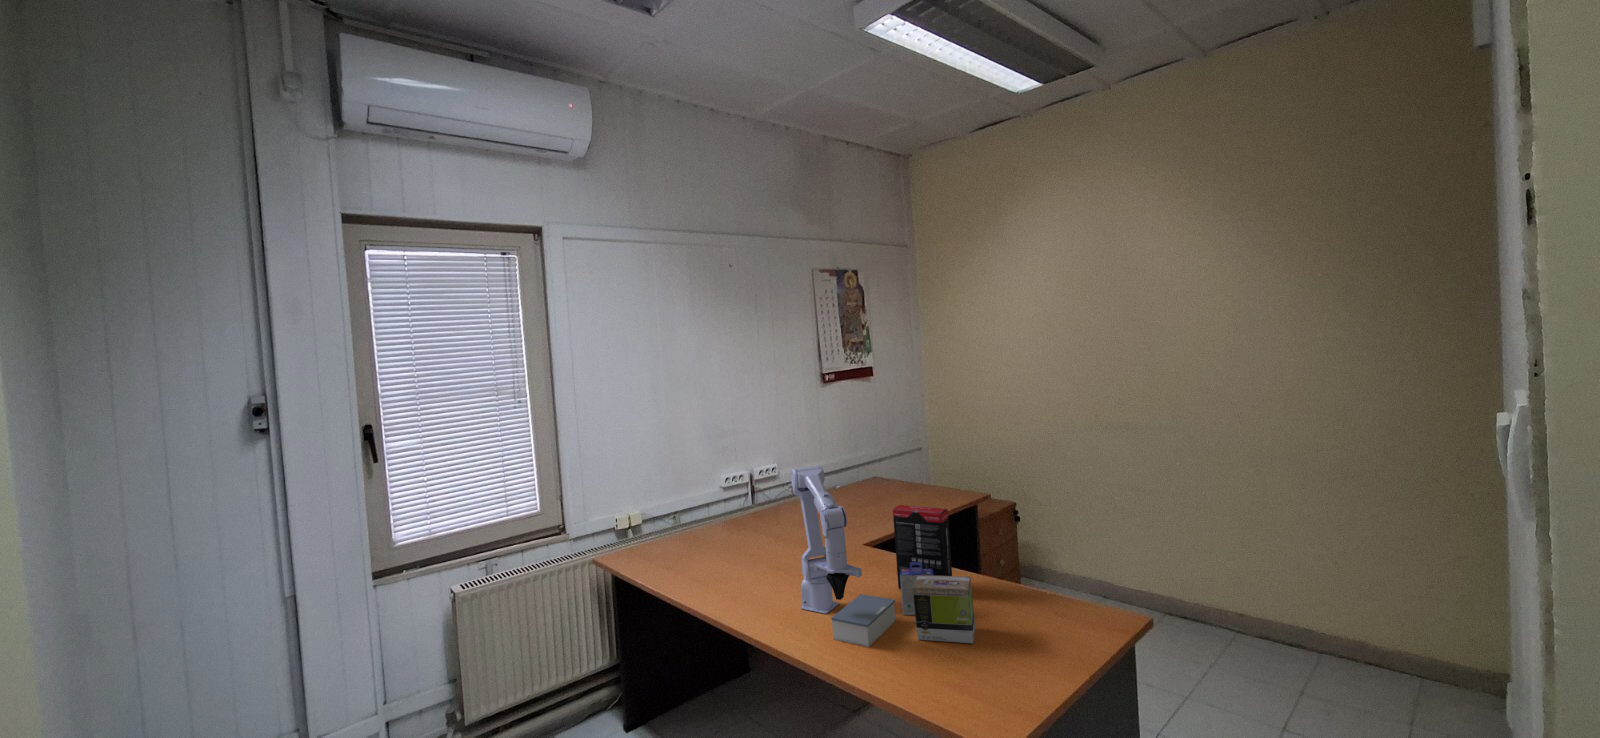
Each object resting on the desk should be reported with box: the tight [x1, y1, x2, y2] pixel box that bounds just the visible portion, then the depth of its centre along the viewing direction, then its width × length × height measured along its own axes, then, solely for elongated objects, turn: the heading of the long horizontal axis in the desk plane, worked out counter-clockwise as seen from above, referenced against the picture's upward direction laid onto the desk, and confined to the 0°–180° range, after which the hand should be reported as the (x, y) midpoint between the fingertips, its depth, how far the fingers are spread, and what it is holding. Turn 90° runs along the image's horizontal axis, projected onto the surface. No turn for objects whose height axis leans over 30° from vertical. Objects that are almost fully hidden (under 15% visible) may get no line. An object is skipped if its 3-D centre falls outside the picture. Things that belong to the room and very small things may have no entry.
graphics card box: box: [892, 504, 953, 590], centre depth 195 cm, size 17×7×27 cm, turn 58°
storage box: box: [831, 603, 896, 648], centre depth 171 cm, size 11×17×6 cm, turn 146°
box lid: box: [831, 593, 896, 627], centre depth 171 cm, size 11×17×1 cm, turn 146°
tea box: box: [913, 575, 976, 644], centre depth 165 cm, size 15×10×15 cm, turn 71°
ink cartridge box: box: [900, 562, 933, 616], centre depth 180 cm, size 10×6×14 cm, turn 78°
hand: (839, 598), depth 170 cm, fingers closed
